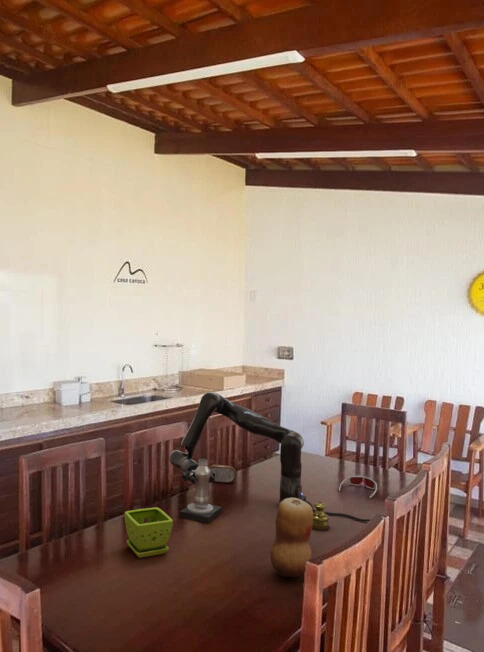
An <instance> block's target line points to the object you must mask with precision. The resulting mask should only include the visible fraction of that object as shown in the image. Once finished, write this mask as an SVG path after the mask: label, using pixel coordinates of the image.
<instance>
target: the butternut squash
mask: <svg viewBox="0 0 484 652" xmlns="http://www.w3.org/2000/svg"><path fill="white" fill-rule="evenodd" d="M313 513H314V512H313V510H312V507H311V506H310V505H309V504H308V503H306V502H305V501H302V500H300V499H297V498H286V499H284V500H283V501H281V503H280V504H279V503H278V507H277V511H276V517H275V538H274V541H273V543H272V546H271V548H270V551H269V555H270V556H269V557H270V563H271V565H272V568H273V569H274V571H275V572H276V573H277V574H278V575H279V576H281V577H285V578H287V577H288V578H298V577H300V576H303V575H305V574H304V571H305V563H306V561H307V560H309V559H311V558H313V557H312V554H313V553H312V549H311V545H310V539H311V534H312V529H313V528H312V526H313Z"/></svg>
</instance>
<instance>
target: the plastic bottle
mask: <svg viewBox="0 0 484 652" xmlns="http://www.w3.org/2000/svg"><path fill="white" fill-rule="evenodd" d="M197 463H198V464H199V466H198V468H197V469H196V471H195V479H196V480H195V488H194V489H195V491H194V496H193V502H194V505H195V506H196V507H198V508H205V507H207V506H208V505H209V504H210V495H209V486H210V485H209V484H210V480H209V479H210V470H209V466H208V459H206V458H200V459H198V462H197Z"/></svg>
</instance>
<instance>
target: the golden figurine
mask: <svg viewBox="0 0 484 652" xmlns="http://www.w3.org/2000/svg"><path fill="white" fill-rule="evenodd" d="M313 508H315V512H313V526H312V529H314V530H317V531H323V530H324V531H325V530H327V529H328V528H329V519H330V518H329V517H330V516H329V515H328V514H325V513H324V512H325V511H324V510H325V509H326V508H327V504H325V503H324V502H322V501H318V502H315V503H313Z"/></svg>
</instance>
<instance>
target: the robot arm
mask: <svg viewBox="0 0 484 652" xmlns="http://www.w3.org/2000/svg"><path fill="white" fill-rule="evenodd" d="M213 413H216V414H219V415H222V416H224V417H226V418H228V419H229V420H230V421H232V422H233V423H234V424H236V425H237V426H238V427H239V428H241V429H243V430H245V431H247V432H248V433H251V434H253V435H256V436H258V437H263V438H267V439H270V440H273V441H274V442H277V443H279V444H280V448H279V453H280V454H279V456H280V457H279V459H280V460H279V461H280V477H279V479H280V480H279V500H278V502H279V503H278V505H279V504H280V503H281V501H283V500H284V499H286V498H296V492H298V499H300V500H302V501H305V502H306V503H308V504H309V505H310V506H311V507H312V510H313V513H314V512H315V511H316V509H314V505H313V504H312V503H311V502H309V501H308V500H307V496H306V495H303V485H302V471H303V470H302V469H303V464H302V449H303V447H304V445H305V440H304V437H303V436H302V435H301V433H299V432H297V431H295V430H292V429H289V428H287V427H284V426H281V425H280V424H277V423H275V422H273V421H272V420H270V419H269V418H267V417H264V416H263V415H261V414H259V413H257V412H255V411H253V410H252V409H249V408H246V407H244V406H242V405H239V404H236V403H234V402H233V401H231V400H229V399H227V398H226V397H224V396H222V395H221V394H219V393H218V392H215V391H209V392H206V393H204V394H203V395H202V396H201V398H200V401H199V404H198V407H197V410H196V412H195V415H194V417H193V419H192V422H191V424H190V426H189V428H188V429H187V431H186V433H185V435H184V436H183V439H182V441H181V444H180V445H181V447H182V448H183V449H184V446H185V449H184V450H186V452H183V451H181V450H178V449H176V450H173V451H172V452H171V453H170V455H169V462H170V464H171V465H172V466H174V467H176V468H178V469H179V470H180V471H181V474H180V475H181V479H182V481H184V482H190V483H191V484H194V485H196V479H195V471H196V469H197V468H198V466H199V464H198V463H199V462H197V461H196V460H193V456H194V453H195V449H196V447H197V445H198V444H199V442H200V439H201V438H202V435H203V432H204V429H205V427H206V426H205V425H206V423H207V422H208V420H209V418H210V417H211V416H212V414H213ZM185 453H186V454H185ZM215 474H216V473H214V472H213V471H212V470H210V479H209V482H211V483H215V482H214V481H215ZM323 512H324V513H325V514H326V515H328V516H329V515H330V516H343V517H347V518H350V519H354V520H356V521H359V522H369V521H370V520H372V519H370V518H359V517H356V516H353V515H350V514H347V513H340V512H331V511H330V512H328V511H323Z"/></svg>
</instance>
